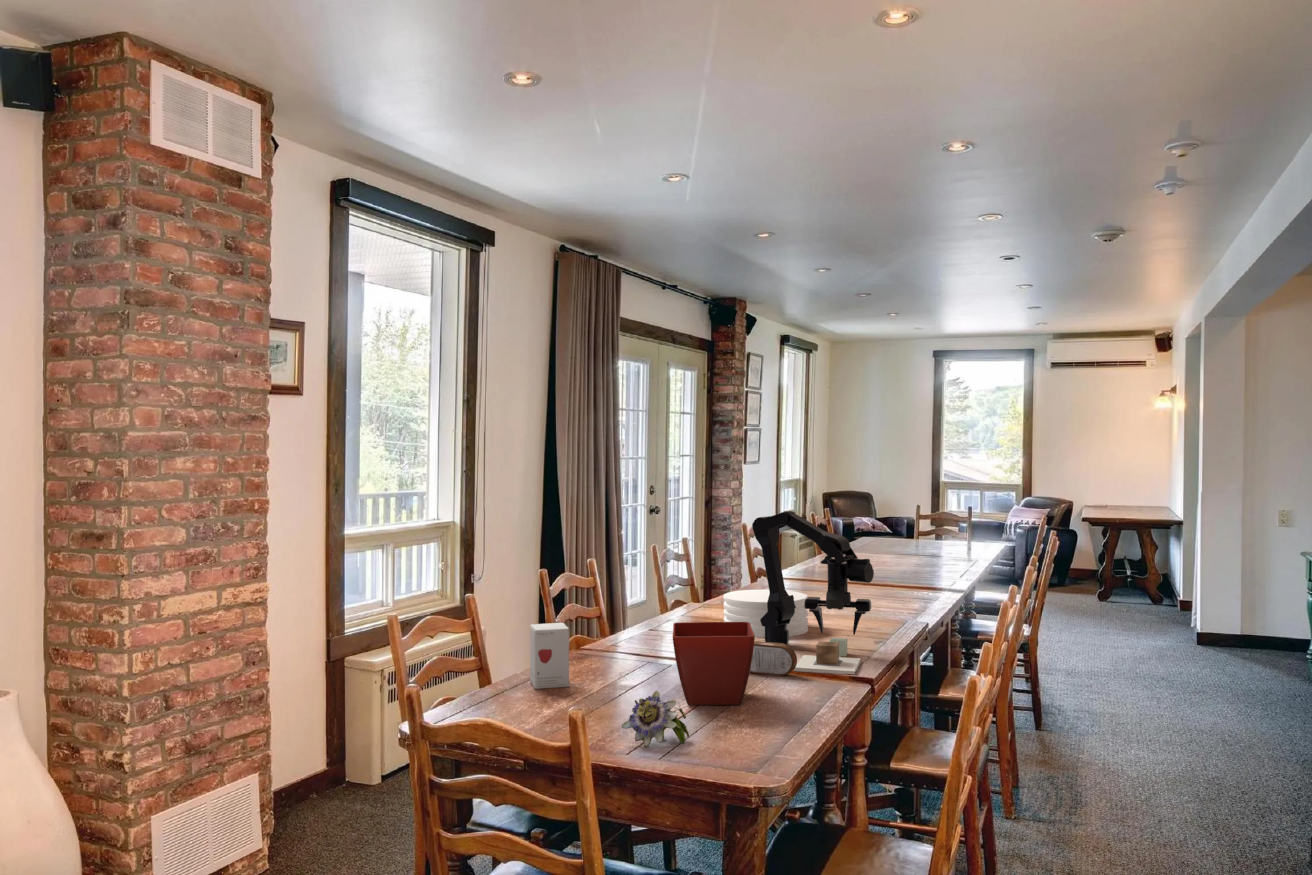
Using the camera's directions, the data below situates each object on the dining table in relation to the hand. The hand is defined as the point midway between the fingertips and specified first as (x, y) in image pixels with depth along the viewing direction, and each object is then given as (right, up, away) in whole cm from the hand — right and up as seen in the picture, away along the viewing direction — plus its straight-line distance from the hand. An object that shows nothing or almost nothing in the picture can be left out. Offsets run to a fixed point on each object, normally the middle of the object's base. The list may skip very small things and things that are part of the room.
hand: (838, 633), depth 269 cm
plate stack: (-16, -7, +40) cm, 44 cm away
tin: (-23, -6, -23) cm, 33 cm away
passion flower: (-53, -5, -80) cm, 96 cm away
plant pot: (-39, -6, -47) cm, 62 cm away
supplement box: (-81, -7, -32) cm, 87 cm away
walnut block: (-6, -5, -15) cm, 17 cm away
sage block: (0, -6, 0) cm, 6 cm away
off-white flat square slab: (-6, -6, -15) cm, 17 cm away
